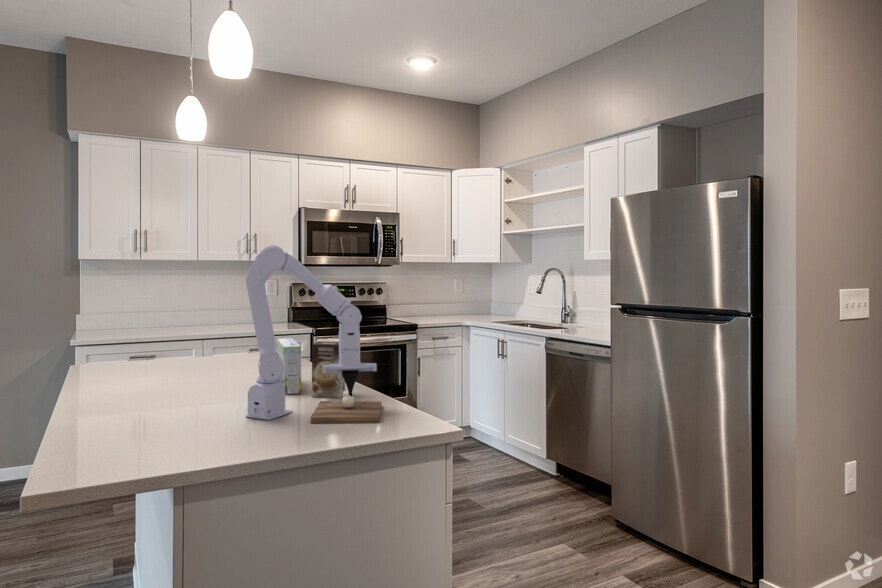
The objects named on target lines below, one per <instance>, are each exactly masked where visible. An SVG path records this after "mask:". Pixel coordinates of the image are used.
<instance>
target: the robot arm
mask: <svg viewBox="0 0 882 588" xmlns="http://www.w3.org/2000/svg"><path fill="white" fill-rule="evenodd" d="M280 268H281V272H285V273H288V274H292V275H294V276H295V277H296V278H297V279H298V280H300V281H301V282H302V283H303V284H304V285H306V287H308V288H309V289H310V290H311V291H312V292H314V293H315V300H316V301H317V303H318V304H319V305H321V306H322V307H323V308H324V309H326V311H327V312H328V313H330V314H331V315H333V316H334V317H335V316H336V320H337V321H338V322H339V325H338V327H339V329H338V330H339V331H338V342H339V364H330V365H323V373H327V372H342V376H343V378H344V380H345V386H346V388H347V390H348V393H349V395H350V396H353V390H354V387H355V384H356V381H357V379H358V376H359V372H378V371H377V369H378V368H377V367H378V366H377V363H376V362H373V363H372V362H370V363H369V362H367V363H366V362H361V332H360V327H361V326H360V323H361V322H362V319H363V318H362V317H363V315H362V313H361V310H360V309H359V308H358V307H357V306H355V305H354V304H353V303H352V300H351V299H350V298H347V297H345V295H343V294H342V293H341V292H340V291H339V288H338V287H337V286H336V285H332V284H324V283H323V282H321V280H319V279H318V278H317V277H316V276H315V275H314V274H313V273H312V272H311V271H310V270H309V269H307V268H306V266H305V265H303V263H302V262H300V261H299V260H298V259H297V258H295V257H294V256H293V255H291V254H290V253H289V252H285V251H284V249H282V247H281V246H278V245H274V244H272V245H267V246H265V247H264V248H263V249H261V251H260V252H259V253H258V254H257V255H256V256H255V258H254V261H253V262H252V265H251V266H250V269H249V271H248V272H247V275H246V277H245V285H246V289H247V290H246V291H247V294H248V299H249V306H250V311H251V315H252V321H253V327H254V331H255V338H256V341H257V342H256V343H257V348H258V353H259V360H258V364H257V365H258V366H257V367H258V374H259V376H258V377H256V382H255V384H253V385H251V386H250V387H249V389H248V391H247V414H245V415H244V416H245V417H246V418H252V419H253V418H254V419H260V420H266V421H267V420H268V421H270V420H274V419H276V418H279V417H282V416H286V415H288V414H291V413H293V410H292V409H286V395H285V377H283V374H284V365H283V362H282V359H281V358H280V356H279V355H278V346H277V344H276V338H275V334H274V333H275V332H274V327H273V321H272V316H271V312H270V307H269V306H270V305H269V300H268V296H267V289H266V285H265V284H266V283H267V282H268V280H269V279H270V277H271V276H272V274H273V273H275V272H276V271H278V270H279V269H280ZM351 303H352V304H351ZM343 369H345V370H343Z"/></svg>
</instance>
